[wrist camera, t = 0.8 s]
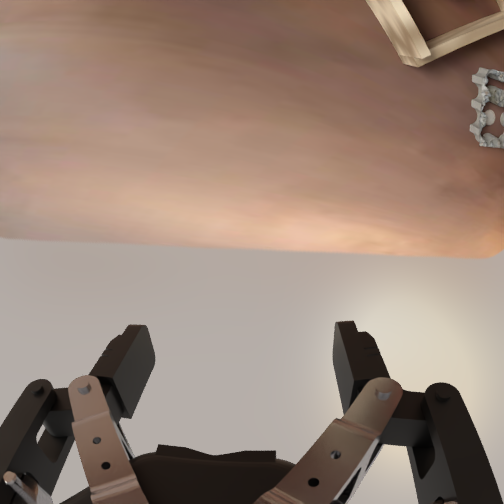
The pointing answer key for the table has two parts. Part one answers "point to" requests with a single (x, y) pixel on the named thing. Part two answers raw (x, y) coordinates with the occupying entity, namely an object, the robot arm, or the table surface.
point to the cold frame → (420, 52)
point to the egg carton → (484, 95)
